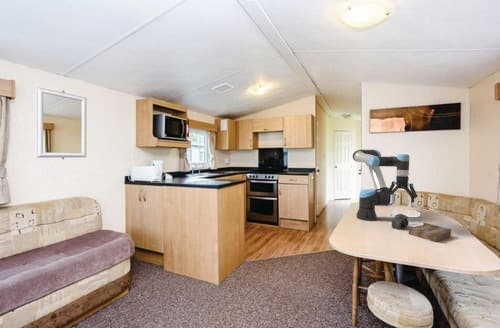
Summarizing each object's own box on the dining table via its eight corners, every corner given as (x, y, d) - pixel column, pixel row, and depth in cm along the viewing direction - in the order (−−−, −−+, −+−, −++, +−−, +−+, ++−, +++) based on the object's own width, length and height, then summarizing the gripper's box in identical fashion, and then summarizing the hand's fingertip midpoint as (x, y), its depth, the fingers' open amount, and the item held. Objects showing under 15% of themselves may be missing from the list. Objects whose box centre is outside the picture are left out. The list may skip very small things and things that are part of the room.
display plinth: (408, 234, 165) (408, 225, 165) (423, 230, 174) (424, 222, 173) (435, 242, 151) (435, 233, 151) (450, 237, 159) (451, 229, 159)
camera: (406, 231, 171) (407, 217, 170) (390, 228, 177) (391, 214, 176) (408, 226, 181) (409, 213, 181) (393, 224, 187) (394, 211, 187)
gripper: (382, 174, 186) (381, 202, 187) (417, 177, 164) (416, 209, 165) (389, 174, 189) (388, 201, 191) (424, 177, 167) (422, 208, 168)
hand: (401, 205), depth 178 cm, fingers open, 13 cm apart
